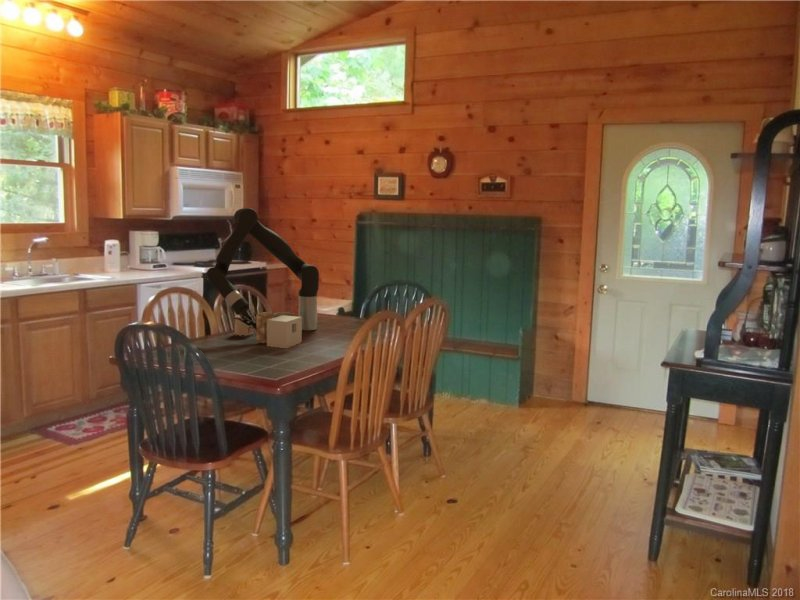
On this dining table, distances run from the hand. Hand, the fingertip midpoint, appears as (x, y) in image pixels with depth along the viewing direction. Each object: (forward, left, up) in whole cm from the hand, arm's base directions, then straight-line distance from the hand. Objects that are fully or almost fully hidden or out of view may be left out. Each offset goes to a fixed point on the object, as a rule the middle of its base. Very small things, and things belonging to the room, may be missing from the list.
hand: (260, 330), depth 302 cm
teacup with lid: (-13, -17, -5) cm, 21 cm away
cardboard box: (0, +13, -5) cm, 14 cm away
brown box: (0, +8, -5) cm, 10 cm away
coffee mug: (-21, -1, -5) cm, 22 cm away
